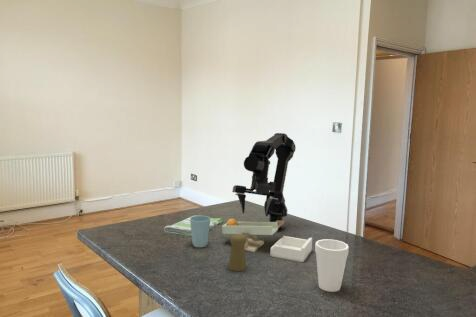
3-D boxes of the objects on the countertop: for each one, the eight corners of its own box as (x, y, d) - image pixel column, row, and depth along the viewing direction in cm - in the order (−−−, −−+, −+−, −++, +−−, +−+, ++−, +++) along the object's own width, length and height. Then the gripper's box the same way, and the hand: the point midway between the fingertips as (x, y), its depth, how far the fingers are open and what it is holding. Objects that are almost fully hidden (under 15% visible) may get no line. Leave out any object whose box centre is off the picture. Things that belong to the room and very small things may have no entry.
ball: (229, 227, 150) (229, 217, 150) (239, 227, 149) (238, 217, 148) (225, 230, 147) (224, 219, 146) (234, 230, 145) (234, 220, 145)
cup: (205, 240, 150) (205, 214, 149) (213, 246, 144) (214, 219, 142) (186, 243, 146) (187, 216, 145) (194, 249, 140) (195, 222, 138)
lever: (239, 222, 161) (239, 215, 160) (285, 222, 152) (284, 215, 152) (222, 233, 146) (221, 226, 146) (272, 234, 137) (271, 226, 137)
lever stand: (245, 239, 152) (245, 223, 151) (264, 243, 149) (264, 226, 148) (234, 248, 142) (234, 231, 141) (254, 252, 139) (254, 234, 138)
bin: (280, 245, 147) (281, 232, 146) (311, 250, 142) (312, 237, 141) (270, 256, 136) (270, 242, 135) (303, 262, 131) (304, 248, 130)
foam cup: (339, 297, 107) (342, 253, 105) (308, 288, 112) (310, 246, 110) (349, 284, 115) (352, 243, 113) (319, 276, 120) (322, 237, 118)
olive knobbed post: (248, 265, 128) (249, 233, 126) (243, 272, 122) (244, 239, 120) (231, 262, 129) (232, 231, 128) (225, 269, 124) (226, 236, 122)
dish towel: (162, 232, 160) (162, 224, 159) (191, 218, 181) (191, 211, 180) (197, 239, 153) (198, 230, 152) (224, 224, 173) (224, 216, 173)
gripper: (241, 169, 137) (235, 213, 135) (290, 177, 141) (284, 219, 139) (235, 170, 148) (229, 211, 146) (280, 177, 151) (275, 217, 150)
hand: (254, 214), depth 145 cm, fingers open, 9 cm apart
